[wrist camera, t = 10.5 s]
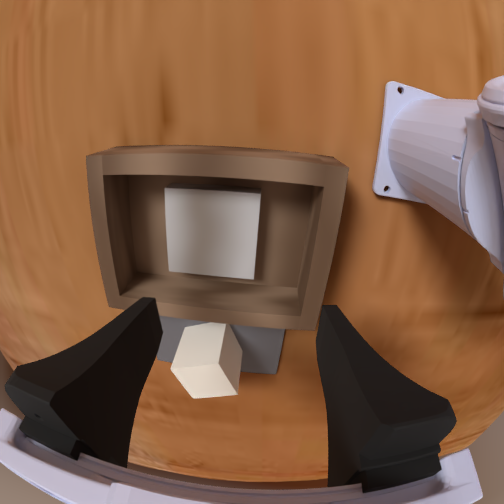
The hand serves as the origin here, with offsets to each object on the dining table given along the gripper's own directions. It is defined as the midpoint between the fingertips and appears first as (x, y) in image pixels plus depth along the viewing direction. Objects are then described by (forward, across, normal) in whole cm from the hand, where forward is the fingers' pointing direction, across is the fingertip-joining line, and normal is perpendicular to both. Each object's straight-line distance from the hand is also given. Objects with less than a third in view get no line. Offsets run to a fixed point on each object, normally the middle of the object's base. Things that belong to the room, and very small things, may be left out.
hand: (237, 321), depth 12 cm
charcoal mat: (+9, +3, +10) cm, 14 cm away
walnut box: (+9, +2, -1) cm, 10 cm away
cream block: (+9, +3, +10) cm, 14 cm away
